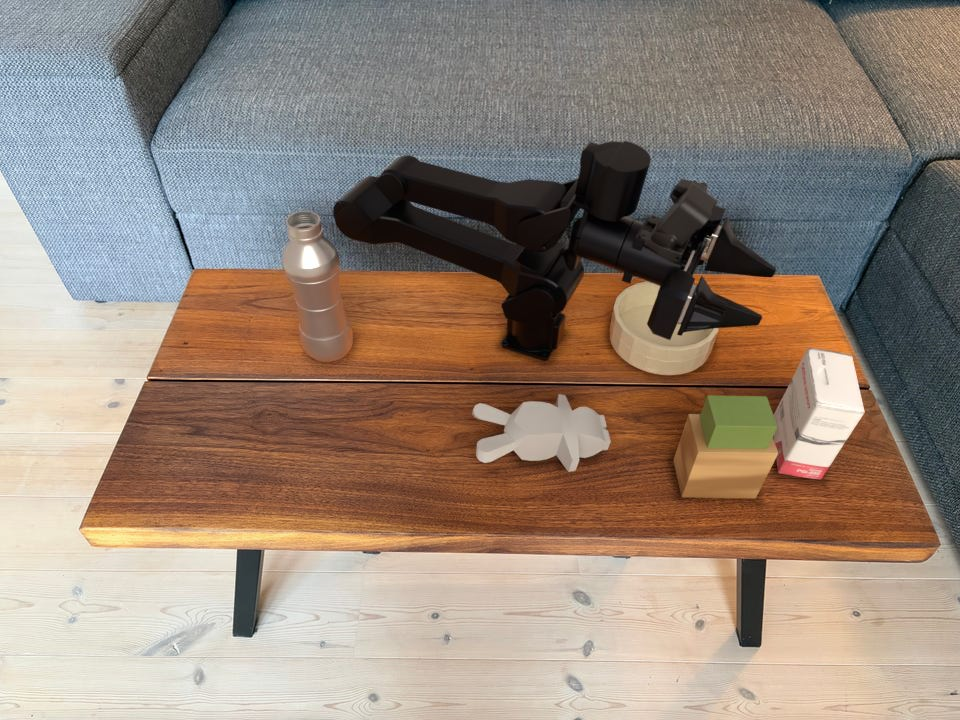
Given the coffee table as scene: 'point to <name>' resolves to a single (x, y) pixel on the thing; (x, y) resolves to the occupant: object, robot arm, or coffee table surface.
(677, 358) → the bowl
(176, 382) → the coffee table surface
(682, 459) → the block
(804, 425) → the ink box
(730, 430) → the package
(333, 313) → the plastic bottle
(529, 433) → the bunny figurine
